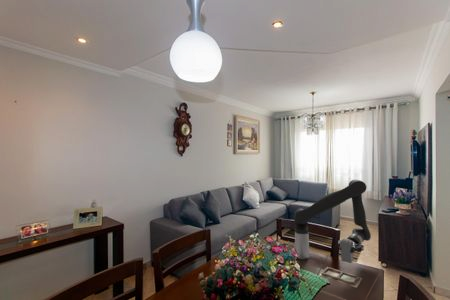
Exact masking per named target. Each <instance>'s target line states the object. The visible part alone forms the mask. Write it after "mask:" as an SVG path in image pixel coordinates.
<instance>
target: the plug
mask: <svg viewBox="0 0 450 300" xmlns="http://www.w3.org/2000/svg"><path fill="white" fill-rule="evenodd" d="M340 241H341V251H340V257H341V258H340V259H341V262H345V263H348V264H352V263H353V261H354V260H355V259H354V257H355V255H354V253H350V249H351V248H352V247H353V241H352V240H350V239H347V237H346V238H342V239H341V240H340Z"/></svg>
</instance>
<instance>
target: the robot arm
mask: <svg viewBox="0 0 450 300" xmlns="http://www.w3.org/2000/svg"><path fill="white" fill-rule="evenodd" d="M366 191H367V184H366V183H365V182H364V181H362V180H359V179H351V180H350V181H349V183H348V186H345V187H344V188H342V189H340V190H336V191H334V192H331V193H330V192H329V193H328V194H326V195H324V196H322V197H320V198H319V199H318V200H316V201H315V202H314V203H313V204H312V205H310V206H309V207H307V208H301V207H300V208H297V209H295V211H294V213H293V215H294V217H293V218H294V219H293V221H294V224H293V225H294V242H293V246H294V247H293V249H294V248H295V249H296V251H297V253H298V254H299V257H298V258H297V259H299V260H308V259H309V258H310V237H309V225H308V224H309V221H311V220H312V219H313V218H315V217H317V216H319V215H322V214H323V213H327V211H330V210H332V209H334V208H335V207H338V206H339V205H341V204H342V203H344V202H347V201H348V200H350V199H351V202H352V214H353V223H354V224H355V226H358V227H359V228H358V227H356V228H355V227H354V228H353V229H352V231H351V232H352V233H351V234H350V235H349V236H348V237H346V239H350V240H352V241H353V247H352V248H351V249H350V253H353V254H355V253H360V252H362V251H363V252H364V250H365V249H364V247H365V245H363V243H364V242H365V241H367V242H368V241H370V240H371V238H372V235H371V232H370V229H369V227H368V223H367V216H366V211H365V207H364V203H363V196H362V195H363V194H364V193H365V192H366ZM337 248H338V249H339V251H340V252H341V240H340V239H339V240H338V241H337Z"/></svg>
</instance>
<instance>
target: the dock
mask: <svg viewBox="0 0 450 300" xmlns="http://www.w3.org/2000/svg"><path fill="white" fill-rule="evenodd" d="M318 276H320V277H324V278H325V279H326V278H327V279H330V280H333V281H335V282H339V283H342V284H345V285H346V286H350V287H354V288H358V286H359V285H360V283H361V282H362V280H363V278H362V277H360V276H359V275H355V274H352V273H349V272H345V271H342V270H339V269H335V268H332V267H328V266H326V267H325V268H324V270H322V271H321V272H320V273H319V275H318Z"/></svg>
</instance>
